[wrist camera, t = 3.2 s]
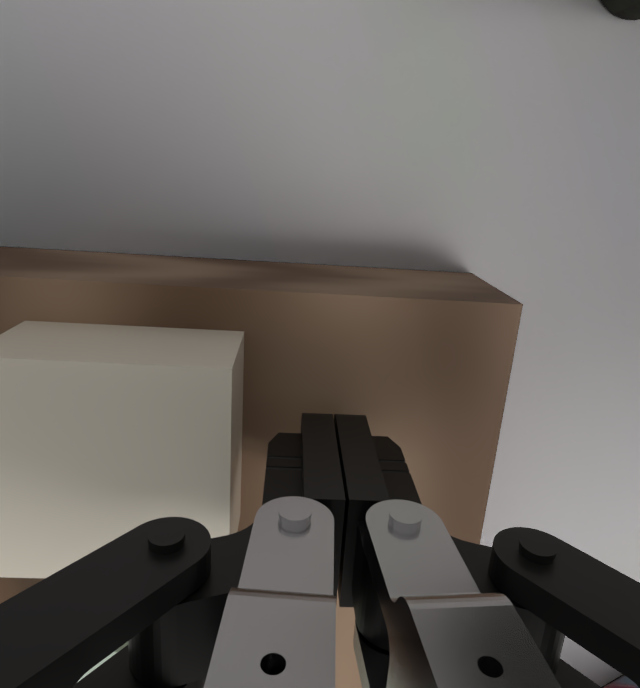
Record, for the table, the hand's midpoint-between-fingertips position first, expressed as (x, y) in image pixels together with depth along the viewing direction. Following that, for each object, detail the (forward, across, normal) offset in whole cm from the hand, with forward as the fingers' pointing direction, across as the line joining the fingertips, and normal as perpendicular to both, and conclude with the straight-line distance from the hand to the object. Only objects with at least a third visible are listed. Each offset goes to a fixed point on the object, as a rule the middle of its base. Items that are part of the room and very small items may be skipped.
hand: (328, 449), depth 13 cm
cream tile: (+1, +5, 0) cm, 5 cm away
